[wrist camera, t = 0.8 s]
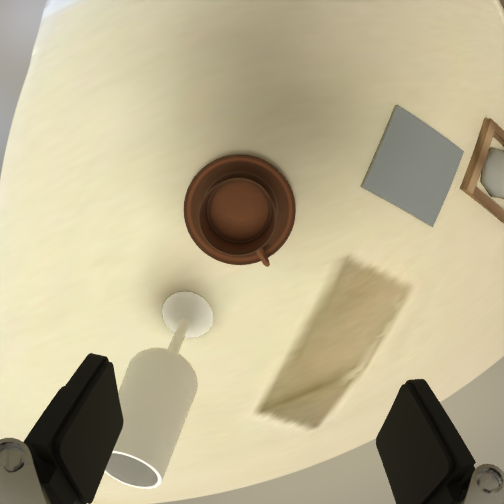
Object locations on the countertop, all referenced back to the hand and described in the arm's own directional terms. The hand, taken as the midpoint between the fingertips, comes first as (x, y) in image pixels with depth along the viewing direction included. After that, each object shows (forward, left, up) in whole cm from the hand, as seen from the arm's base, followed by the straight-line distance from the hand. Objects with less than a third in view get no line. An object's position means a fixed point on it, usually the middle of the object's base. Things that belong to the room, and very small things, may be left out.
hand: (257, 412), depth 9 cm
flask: (-21, +28, -29) cm, 45 cm away
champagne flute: (+14, -3, -29) cm, 32 cm away
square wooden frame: (-21, +28, -28) cm, 45 cm away
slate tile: (-14, +15, -28) cm, 35 cm away
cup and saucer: (-1, -2, -29) cm, 29 cm away
